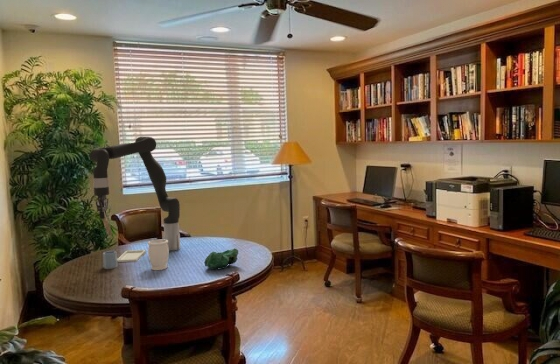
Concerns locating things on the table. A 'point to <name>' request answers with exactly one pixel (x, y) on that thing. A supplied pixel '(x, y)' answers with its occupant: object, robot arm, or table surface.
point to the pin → (107, 225)
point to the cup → (110, 259)
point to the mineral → (221, 259)
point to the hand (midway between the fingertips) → (103, 218)
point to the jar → (158, 254)
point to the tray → (131, 256)
